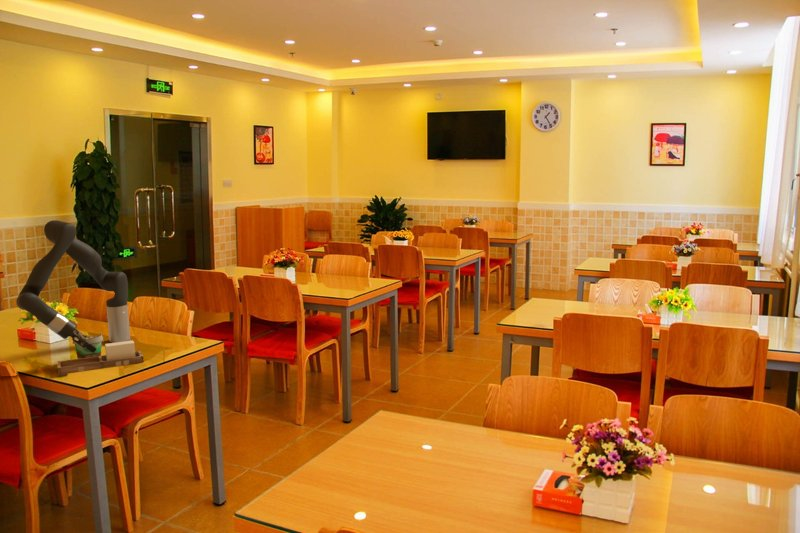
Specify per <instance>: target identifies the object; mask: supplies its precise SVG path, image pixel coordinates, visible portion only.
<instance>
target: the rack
mask: <svg viewBox="0 0 800 533" xmlns="http://www.w3.org/2000/svg"><path fill="white" fill-rule="evenodd" d="M141 351H142V350H135V356H136V357H130V358H123V359H115V360H108V361H107V360H106V354H105V355H101V356H96V357H89V358H81V359H77V358H75V359H69V360H66V359H65V360H60V361H57V372H58V377H66V376H69V375H68V374H70V373H77V372H85V371H91V370H98V369H105V368H113V367H120V366H127V365H132V364H133V365H134V364H140V363H144V362H145V361H144V355H143V353H142V352H141Z"/></svg>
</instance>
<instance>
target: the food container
mask: <svg viewBox="0 0 800 533" xmlns="http://www.w3.org/2000/svg"><path fill="white" fill-rule="evenodd" d="M103 340H104V337H103V334H102V333H100V334H99V335H97V336H96V335H95V336H87V337H86V341H87V342H89V343H90V344H91V345H92V346H94V347H95V348H96V349H97V350H96V351H95V352H94V353H92V352H91V351H90V350H88V349H87V348H83V347H82V346H80V345H79V344H77V343H76V342H74V341H73V340H72V344H74V347H75V348H74V349H75V354H76V359H81V358H89V357H96V356H102V341H103ZM84 344H85V342H83V345H84Z"/></svg>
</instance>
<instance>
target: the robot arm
mask: <svg viewBox="0 0 800 533" xmlns="http://www.w3.org/2000/svg"><path fill="white" fill-rule="evenodd" d="M43 232H44V236H45V237H46V239H47V240H48V241H49V242H51V243H53V244H54V245H53V246H52V248H51V249H50V251H49V252H47V253H46V254H45V255H44V256H43V257H42V258H41V259H39V260H38V262H37V263H36V264H35V265H34V266H33V268H32V270H31V272H30V274H29V276H28V278H27V280H26V283H25V284H24V286H23V287H22V289H21V290H20V291H19V294H18V295H17V298H16V300H15V301H16V306H17V308H18V309H20V310H23V311H27V312H28V313H29V314H30V315H32V316H34V317H35V319H36V320H38V322H41V323H42V324H43V325H44V326H46V327H47V328H49V330H50V331H52V332H53V333H55V334H57V335H58V336H59V337H60V338H62V339H63V340H67V339H68V338H69V337H70V338H71V340H72V342H73V341H74V342H76V343H77V344H79V345H80V346H82V347H83V348H87V349H88V350H90V351H91V352H92V353H94V352H95V351H96V350H97V349H96V348H95V347H94V346H92V345H91V344H90V343H89V342H87V341H86V337H88V336H87V335H85V334H83V332H81V331H80V330H78V329H77V328H78V324H76V322H74V321H72V320H71V319H69V317H67V316H65V315H64V314H62V313H60V312H58V311H57V310H56V309H55V308H53V307H51V306H50V305H48V304H47V303H46V302H45V301H44V300H43V299H42V298H41V297H39V296H40V294H41V292H42V291H43V290H44V289H45V287H46V285H47V283H48V282H49V280H50V277H51V276H52V273H53V271H54V269H55V267H56V266H57V265H58V263H59V262H60V260H62V257H63V256H64V255H65V254H66V255H68V256H69V257H70V258H71V259H72V260H73V261H74V262H75V263H76V264H78V265H79V267H81V268H82V269H83V270H84V271H85V272H86V273H88V275H90V276H91V277H92V278H93V279H94V281H95V282H96V283H97V284H98V286H100V288H101V289H102V290H104V291H106V292H114V295H113V297H111V298H109V299H107V300H106V301H105V305H106V314H107V316H106V317H107V325H108V326H107V327H108V337H109V342H110V343H116V342H124V341H131V332H130V330H131V329H130V318H129V308H128V300H129V282H128V277H127V274H126V273H125V272H123V271H109V270H107V269H105V268H104V267H103V266H102V265H103V263H102V262H103V260H102V256H101V255H100V254H99V253H98V252H97V251H96V250H95V249H94V248H93V247H91V246H90V245H89V244H87V243H86V242H83V241H82V240H80V239H78V238H76V235H77V228H76V226H75V225H74V224H73V223H70V222H67V221H62V220H50V221H48V222H46V224H45V225H44V227H43ZM83 342H85V344H84V345H83Z"/></svg>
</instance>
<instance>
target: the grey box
mask: <svg viewBox="0 0 800 533" xmlns="http://www.w3.org/2000/svg"><path fill="white" fill-rule="evenodd" d="M104 346H105V347H104V348H105V355H106V360H107V361H108V360H115V359H123V358H130V357H136V356H135V351H136V347H135V346H136V345H135V342H134V340H129V341H124V342H116V343H112V342H110V343H108V342H107V343H104Z"/></svg>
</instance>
